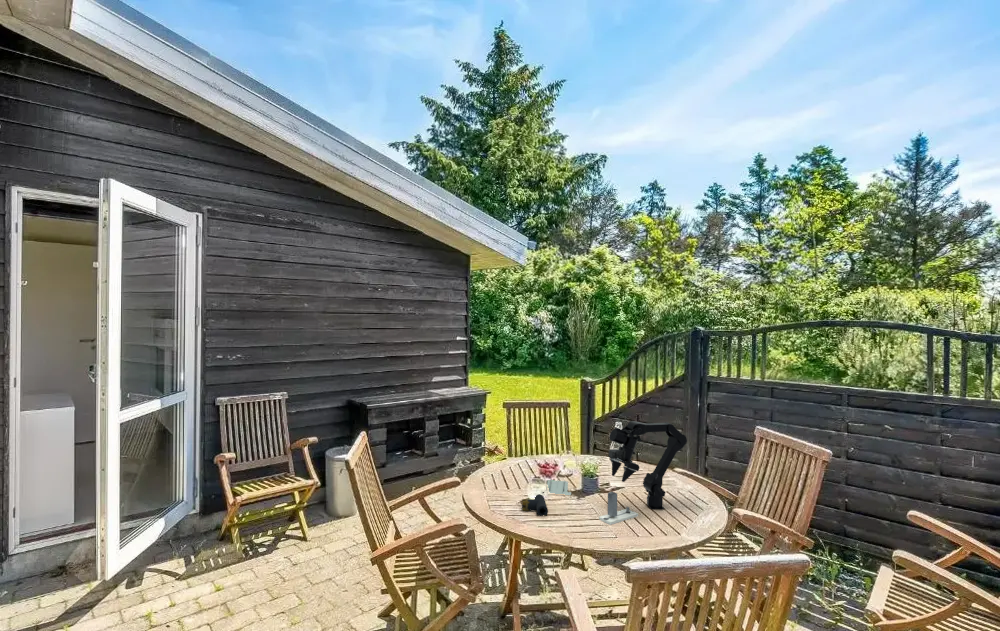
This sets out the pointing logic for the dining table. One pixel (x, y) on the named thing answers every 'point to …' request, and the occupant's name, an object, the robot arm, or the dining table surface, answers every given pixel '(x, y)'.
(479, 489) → the dining table surface
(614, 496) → the gray metal block
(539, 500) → the pipe connector
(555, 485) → the metal bracket
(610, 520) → the bolt plate
